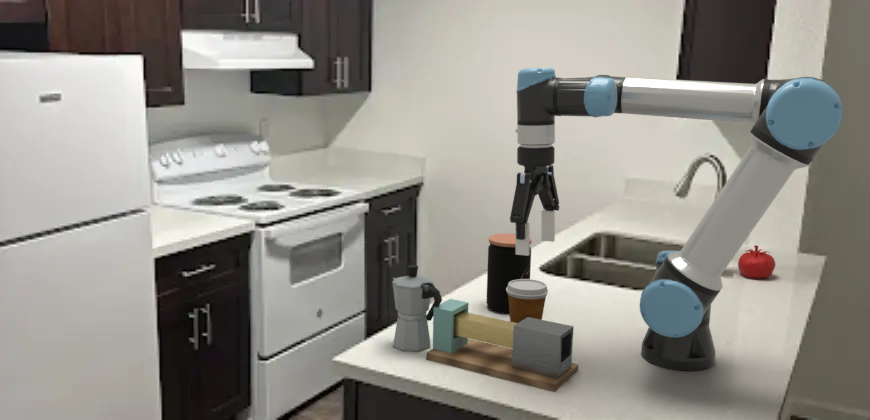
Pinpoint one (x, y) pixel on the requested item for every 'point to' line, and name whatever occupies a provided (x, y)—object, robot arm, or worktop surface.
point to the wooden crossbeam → (484, 329)
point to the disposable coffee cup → (526, 299)
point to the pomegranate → (756, 264)
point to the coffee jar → (504, 270)
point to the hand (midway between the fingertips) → (535, 247)
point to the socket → (447, 326)
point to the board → (496, 364)
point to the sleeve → (542, 347)
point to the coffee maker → (413, 310)
